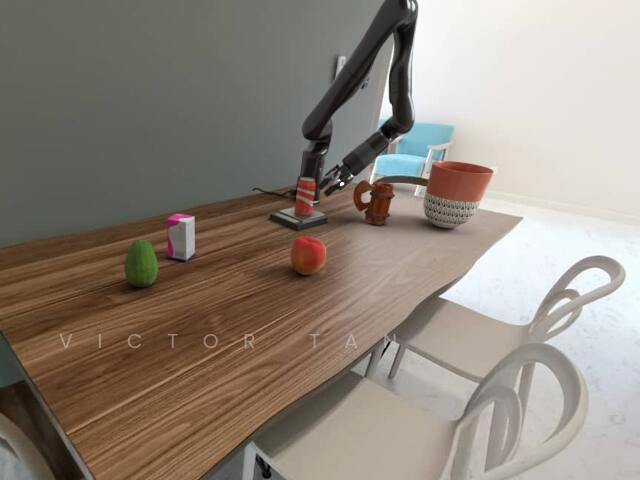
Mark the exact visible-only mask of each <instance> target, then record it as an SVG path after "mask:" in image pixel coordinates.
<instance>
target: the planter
mask: <svg viewBox="0 0 640 480" xmlns="http://www.w3.org/2000/svg"><path fill="white" fill-rule="evenodd" d="M494 173H495V171H494V170H493V169H492V168H489V167H487V166H483V165H479V164H475V163H470V162H463V161H453V160H437V161H433V162H432V163H431V167H430V171H429V175H428V180H427V184H426V188H425V192H424V196H423V205H422V207H423V213H424V215H425V218H426V219H427V221H428V222H429V223H431V224H432V225H434V226H436V227H439V228H443V229H455V228H458V227H460V226H463V225H464V224H466V223H468V222H469V221H470V220H471V219H472V218H473V217H474V216H475V214H476V212H477V211H478V210H479V208H480V205H481V202H482V200H483V198H484V196H485V194H486V191H487V189H488V186H489V184H490V182H491V181H492V177H493V175H494Z"/></svg>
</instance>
